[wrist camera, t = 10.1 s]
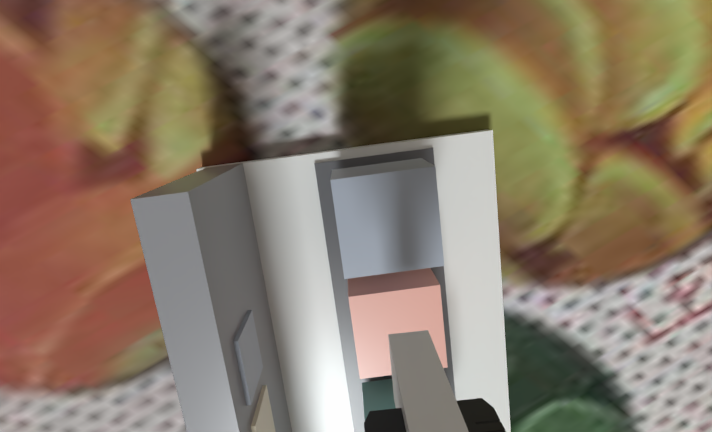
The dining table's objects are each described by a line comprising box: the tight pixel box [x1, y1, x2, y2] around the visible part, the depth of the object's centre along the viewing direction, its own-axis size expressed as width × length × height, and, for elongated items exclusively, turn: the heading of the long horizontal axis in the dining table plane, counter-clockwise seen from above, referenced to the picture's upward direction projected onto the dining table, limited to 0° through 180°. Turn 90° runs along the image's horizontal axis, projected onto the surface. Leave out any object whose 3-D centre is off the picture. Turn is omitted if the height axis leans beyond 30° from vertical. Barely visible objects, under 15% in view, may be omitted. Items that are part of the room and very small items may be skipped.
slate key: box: [330, 158, 444, 279], centre depth 22 cm, size 4×4×4 cm
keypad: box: [130, 130, 511, 432], centre depth 23 cm, size 16×24×10 cm, turn 7°
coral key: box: [348, 268, 448, 379], centre depth 25 cm, size 4×4×4 cm
